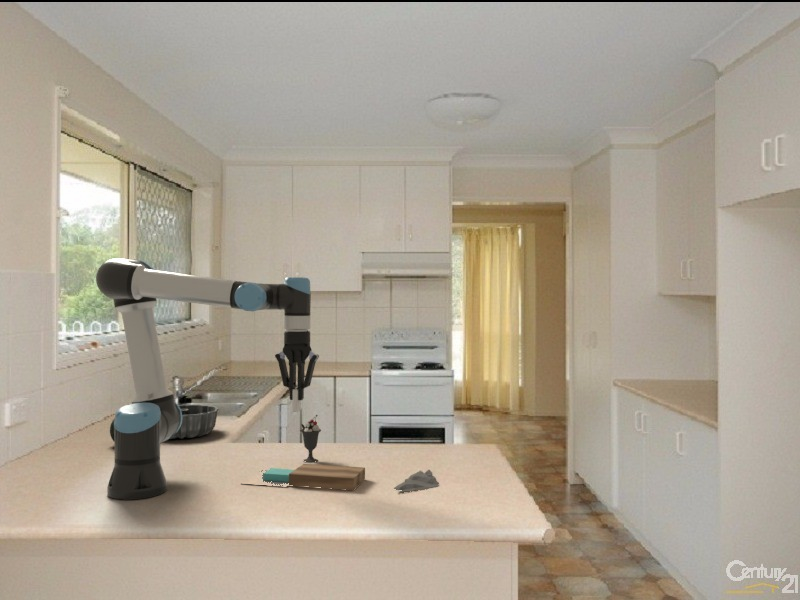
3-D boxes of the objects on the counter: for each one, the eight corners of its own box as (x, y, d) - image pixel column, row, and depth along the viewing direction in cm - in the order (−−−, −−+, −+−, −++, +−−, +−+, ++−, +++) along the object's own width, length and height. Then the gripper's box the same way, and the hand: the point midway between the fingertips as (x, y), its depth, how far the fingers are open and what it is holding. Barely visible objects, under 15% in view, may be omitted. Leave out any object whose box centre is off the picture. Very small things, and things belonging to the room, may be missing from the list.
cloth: (413, 500, 182) (413, 491, 182) (372, 491, 190) (372, 483, 190) (460, 479, 203) (460, 471, 203) (422, 472, 211) (422, 464, 211)
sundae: (325, 460, 221) (325, 414, 221) (309, 464, 216) (309, 417, 216) (312, 457, 226) (312, 412, 226) (296, 460, 221) (296, 414, 221)
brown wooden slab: (353, 491, 188) (353, 478, 188) (288, 486, 192) (288, 474, 192) (364, 479, 200) (365, 467, 200) (303, 475, 204) (303, 463, 204)
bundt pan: (166, 427, 274) (166, 402, 274) (228, 429, 271) (229, 404, 271) (132, 441, 248) (132, 414, 248) (200, 444, 245) (200, 416, 245)
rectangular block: (292, 482, 195) (292, 475, 195) (263, 480, 197) (263, 473, 197) (299, 476, 201) (299, 470, 201) (271, 474, 203) (271, 468, 203)
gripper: (322, 330, 200) (322, 410, 200) (281, 329, 202) (280, 408, 203) (314, 331, 192) (313, 414, 193) (271, 330, 195) (270, 412, 195)
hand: (296, 411), depth 198 cm, fingers closed
